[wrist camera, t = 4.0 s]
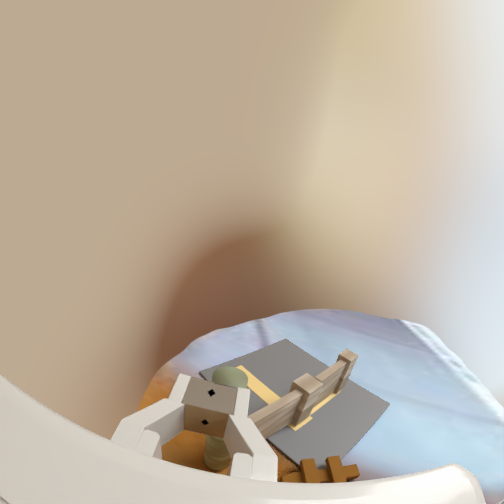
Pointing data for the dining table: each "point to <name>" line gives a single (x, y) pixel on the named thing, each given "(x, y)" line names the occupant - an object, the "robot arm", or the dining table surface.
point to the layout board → (321, 417)
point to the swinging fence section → (264, 411)
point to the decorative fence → (322, 472)
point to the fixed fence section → (336, 375)
